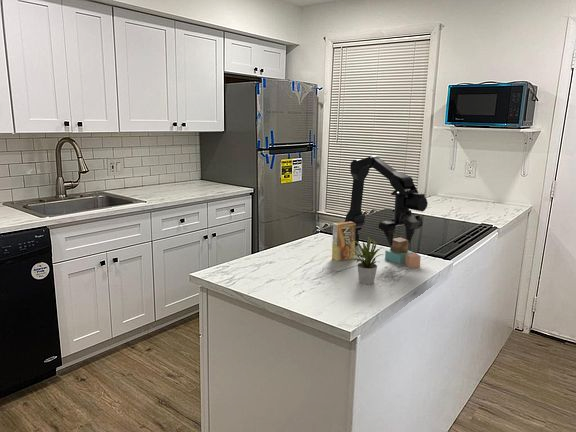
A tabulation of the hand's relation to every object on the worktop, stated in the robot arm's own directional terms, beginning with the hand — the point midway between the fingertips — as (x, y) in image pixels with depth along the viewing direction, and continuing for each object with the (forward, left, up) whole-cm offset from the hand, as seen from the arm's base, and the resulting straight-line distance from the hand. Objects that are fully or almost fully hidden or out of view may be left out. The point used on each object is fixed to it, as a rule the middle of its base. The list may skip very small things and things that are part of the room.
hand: (399, 244), depth 182 cm
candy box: (-23, 0, -7) cm, 24 cm away
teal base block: (0, 0, -7) cm, 7 cm away
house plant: (-17, -25, -7) cm, 31 cm away
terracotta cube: (+4, -7, -7) cm, 11 cm away
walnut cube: (0, 0, -3) cm, 3 cm away
